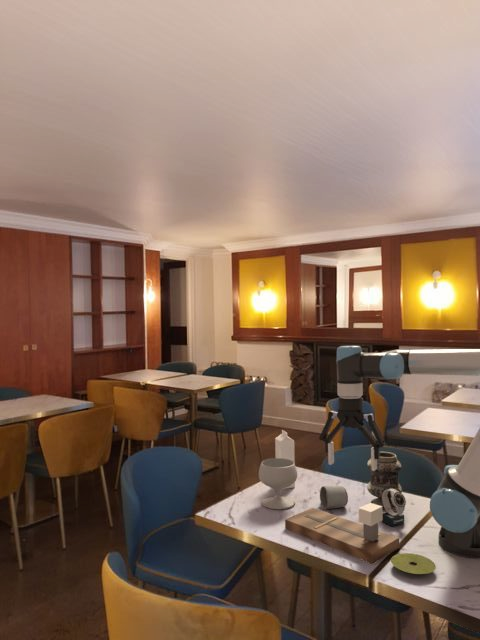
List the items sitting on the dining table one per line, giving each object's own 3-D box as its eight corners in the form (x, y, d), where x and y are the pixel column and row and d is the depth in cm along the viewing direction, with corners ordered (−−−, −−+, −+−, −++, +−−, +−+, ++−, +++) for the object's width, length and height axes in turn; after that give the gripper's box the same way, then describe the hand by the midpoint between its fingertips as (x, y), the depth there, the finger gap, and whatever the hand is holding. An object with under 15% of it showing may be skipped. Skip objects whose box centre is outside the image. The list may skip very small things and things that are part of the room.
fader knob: (382, 537, 144) (382, 506, 144) (371, 543, 140) (370, 512, 140) (370, 533, 147) (370, 502, 147) (359, 539, 143) (358, 508, 142)
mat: (384, 560, 137) (384, 553, 137) (423, 558, 138) (423, 551, 138) (401, 582, 125) (401, 574, 125) (443, 579, 126) (443, 572, 126)
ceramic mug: (349, 509, 173) (349, 487, 173) (327, 512, 171) (327, 490, 171) (336, 499, 183) (335, 479, 183) (315, 502, 181) (315, 481, 181)
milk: (280, 489, 195) (279, 433, 195) (275, 484, 201) (274, 430, 200) (295, 487, 196) (294, 432, 196) (289, 482, 202) (288, 429, 202)
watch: (396, 530, 156) (396, 495, 156) (378, 521, 163) (377, 487, 163) (409, 526, 159) (408, 492, 159) (390, 517, 166) (390, 485, 166)
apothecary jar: (399, 499, 183) (399, 450, 183) (404, 511, 171) (404, 459, 171) (366, 497, 185) (365, 449, 185) (368, 509, 173) (368, 458, 173)
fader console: (399, 547, 144) (399, 536, 144) (372, 564, 135) (372, 552, 135) (312, 516, 168) (312, 506, 168) (285, 528, 158) (285, 518, 158)
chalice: (251, 506, 177) (251, 464, 177) (271, 494, 189) (270, 455, 189) (286, 514, 170) (285, 470, 170) (304, 501, 181) (303, 460, 181)
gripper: (395, 397, 147) (397, 469, 147) (317, 392, 161) (319, 458, 160) (387, 400, 141) (389, 475, 140) (307, 396, 154) (309, 464, 154)
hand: (352, 466), depth 150 cm, fingers open, 13 cm apart
